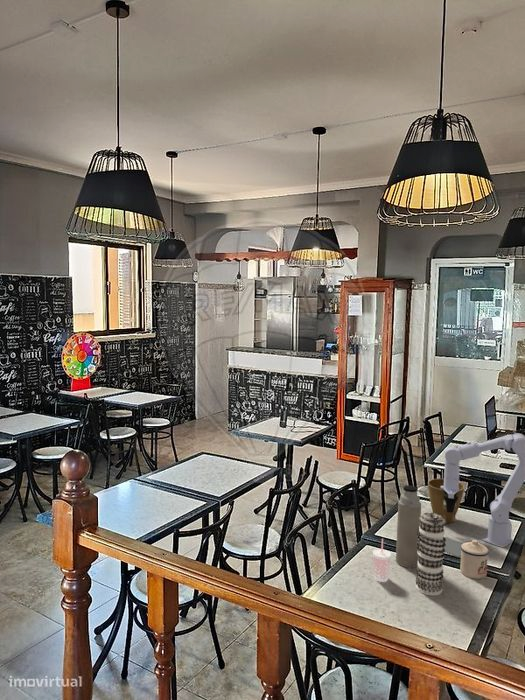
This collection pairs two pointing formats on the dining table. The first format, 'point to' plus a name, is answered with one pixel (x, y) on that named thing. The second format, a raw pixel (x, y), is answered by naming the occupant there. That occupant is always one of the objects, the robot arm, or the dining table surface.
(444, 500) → the stool
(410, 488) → the thermos bottle
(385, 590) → the dining table surface
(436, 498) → the plant pot
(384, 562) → the beverage cup
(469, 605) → the dining table surface
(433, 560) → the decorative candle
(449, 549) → the mat
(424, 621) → the dining table surface
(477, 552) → the teacup with lid
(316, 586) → the dining table surface
